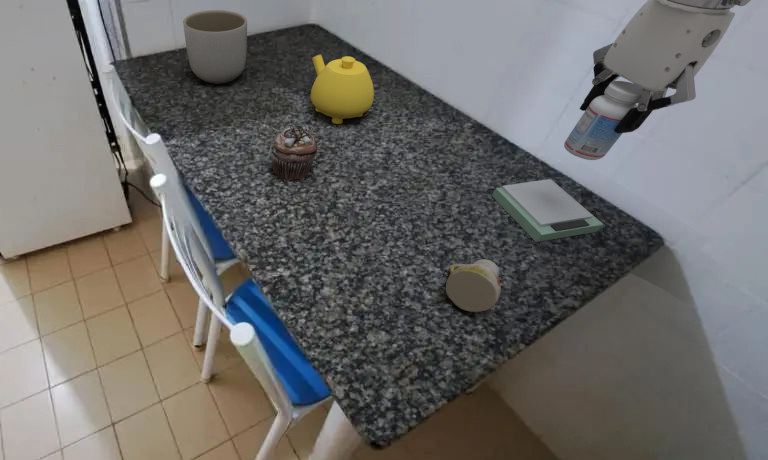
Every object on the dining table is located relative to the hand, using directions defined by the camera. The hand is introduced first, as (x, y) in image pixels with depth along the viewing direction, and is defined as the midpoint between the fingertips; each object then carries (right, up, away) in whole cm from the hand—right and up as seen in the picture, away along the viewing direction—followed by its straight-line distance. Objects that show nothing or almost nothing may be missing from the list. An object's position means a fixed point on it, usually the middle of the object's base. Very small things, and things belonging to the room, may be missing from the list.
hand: (605, 119), depth 62 cm
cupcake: (-48, -4, +23) cm, 53 cm away
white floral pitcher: (-21, -27, +1) cm, 35 cm away
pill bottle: (0, -4, +4) cm, 6 cm away
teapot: (-35, +14, +41) cm, 56 cm away
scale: (0, -14, +14) cm, 20 cm away
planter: (-67, +28, +53) cm, 89 cm away
